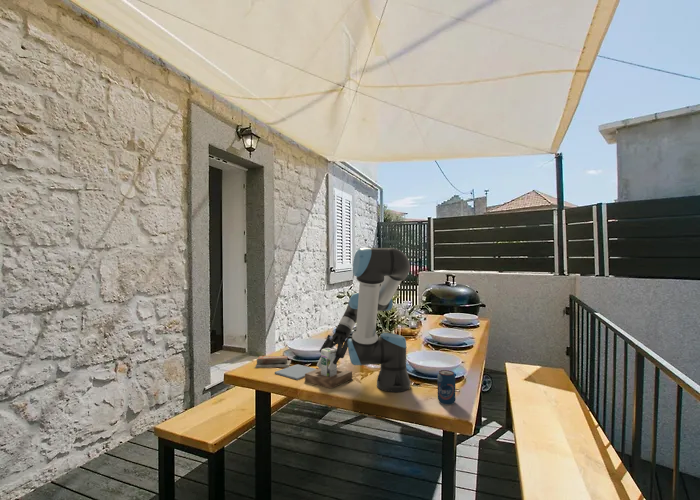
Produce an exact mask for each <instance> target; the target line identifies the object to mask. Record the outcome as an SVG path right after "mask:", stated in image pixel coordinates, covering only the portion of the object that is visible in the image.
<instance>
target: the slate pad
mask: <svg viewBox="0 0 700 500" xmlns="http://www.w3.org/2000/svg"><path fill="white" fill-rule="evenodd" d="M316 369H317V368H314V367H310V366H305V365H301V364H299V363H298V364H294V365H290V366H289V367H284V368H282V369H280V370H276V371H274V374H276V375H279V376H282V377H285V378H288V379H293V380H295V381H296V380H297V381H298V380H302V379H305V374H306V373H308V372H311V371H313V370H316Z"/></svg>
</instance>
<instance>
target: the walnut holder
mask: <svg viewBox="0 0 700 500" xmlns="http://www.w3.org/2000/svg"><path fill="white" fill-rule="evenodd" d="M315 369H316V370H313V371H311V372H308V373H306V374H305V377H304V381H305V382H307V383H311V384H314V385H318V386H321V387H323V388H328V389H333V388H335V387H337V386H340V385H341V384H344V383H346V382H348V381H350V380H352V379H353V371H352V370H349V369H344V368H340V367H337V374H336V375H334V376H332V377H328V376H324V375H321V368H315Z"/></svg>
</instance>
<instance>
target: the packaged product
mask: <svg viewBox="0 0 700 500" xmlns="http://www.w3.org/2000/svg"><path fill="white" fill-rule="evenodd" d="M291 364H292V360H291V359H289V360H288V356H287V355H259V356H258V357H257V359H256V364H255V368H288V367H291Z"/></svg>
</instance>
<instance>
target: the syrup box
mask: <svg viewBox="0 0 700 500" xmlns="http://www.w3.org/2000/svg"><path fill="white" fill-rule="evenodd" d="M336 351H337V349H334V348H332V349H331V348H325V349H322V350H321V352H320V356H321V375H324V376H328V377H332V376H334V375H336V374H337V368H338V363H337V364H336V365H334V367H333V369H332V371H330V370H329V369H328V366H329V364H330V362H331V360H332V359H333V357H334V356H335V355H336Z"/></svg>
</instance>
